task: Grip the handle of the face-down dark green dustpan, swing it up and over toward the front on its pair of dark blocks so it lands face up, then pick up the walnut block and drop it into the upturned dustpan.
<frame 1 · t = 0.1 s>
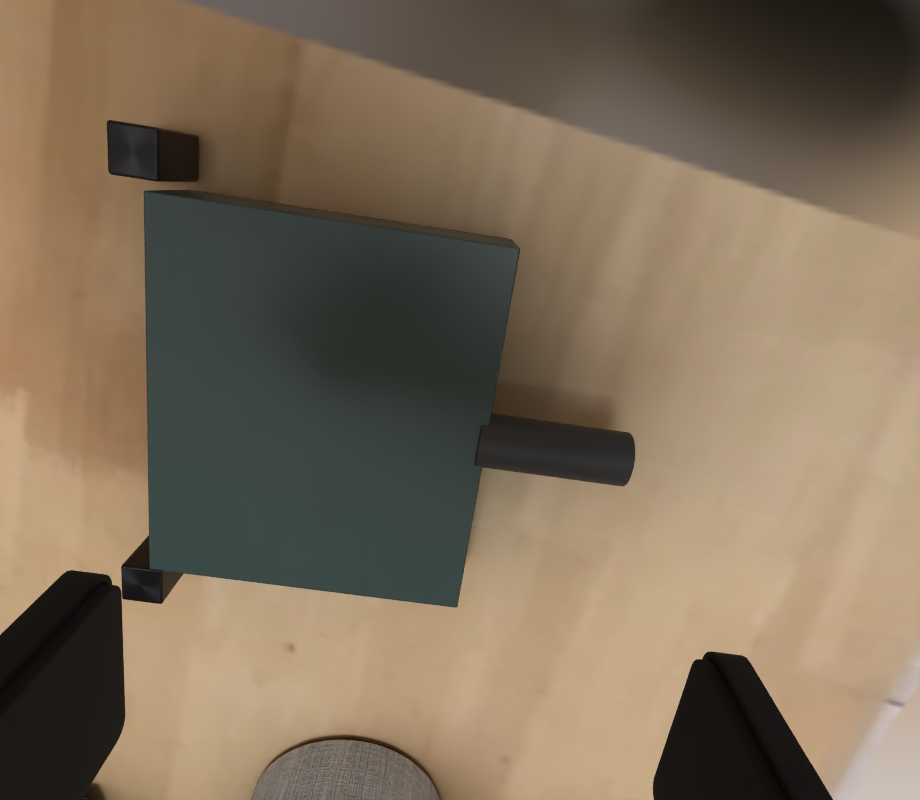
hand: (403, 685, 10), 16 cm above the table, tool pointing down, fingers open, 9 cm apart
dustpan: (396, 418, 24), point 2 cm above the table, hinge at -0.1°
pair of dark blocks: (176, 368, 25), on the table
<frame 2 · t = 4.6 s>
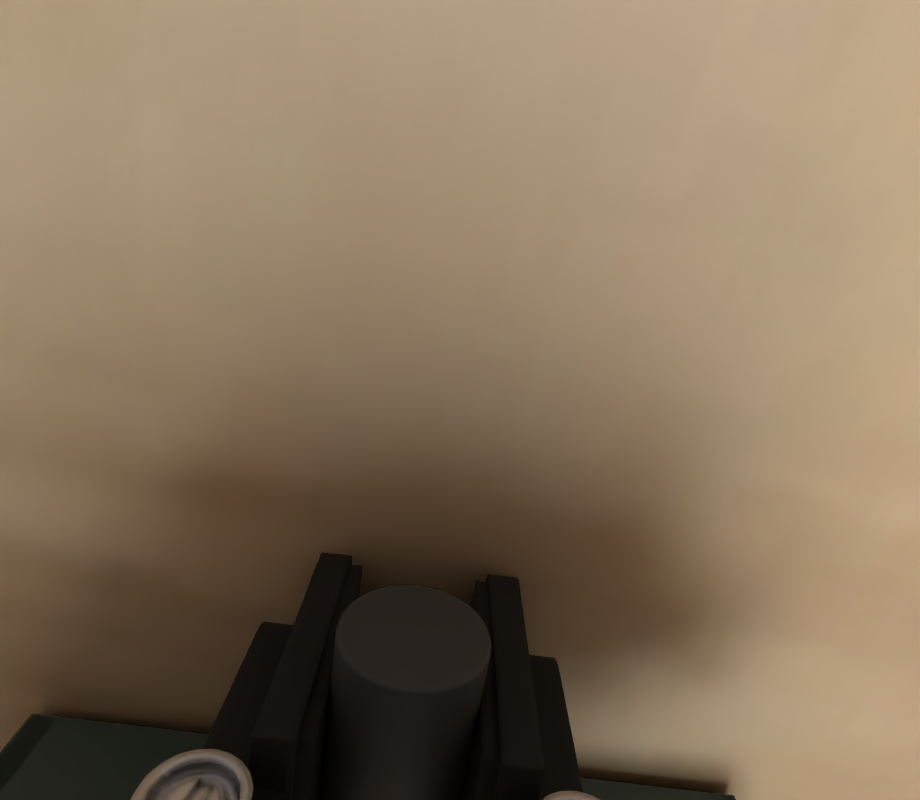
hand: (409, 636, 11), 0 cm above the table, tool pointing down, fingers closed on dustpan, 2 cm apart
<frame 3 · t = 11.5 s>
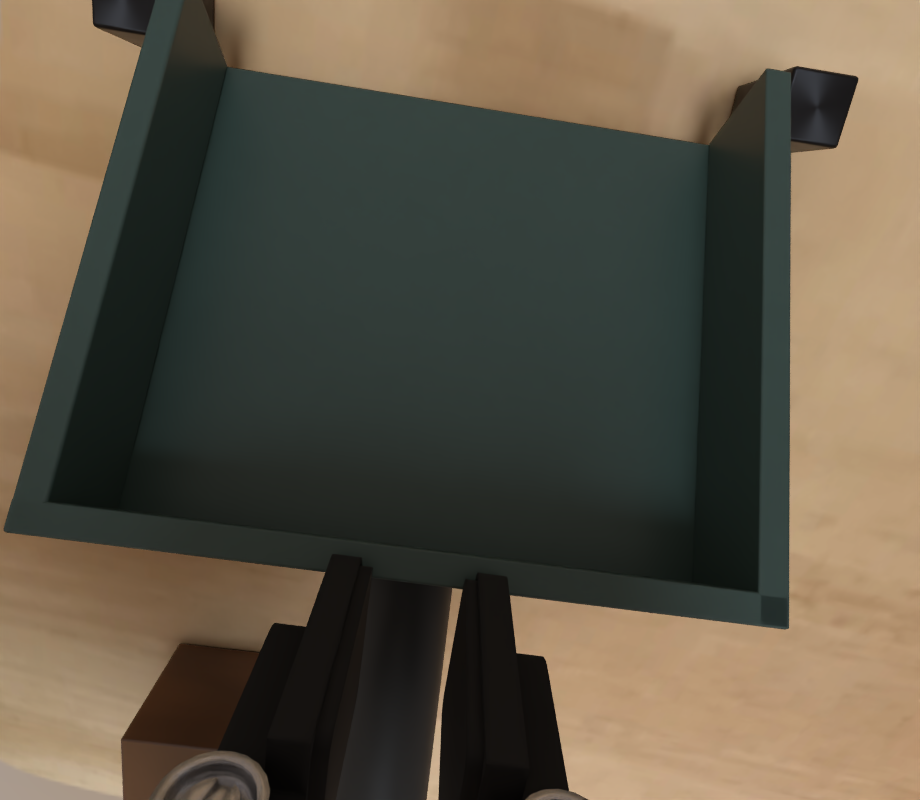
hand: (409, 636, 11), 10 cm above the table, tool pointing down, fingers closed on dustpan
dustpan: (429, 418, 14), point 7 cm above the table, hinge at 148.2°, touching gripper
block: (235, 694, 25), on the table
pair of dark blocks: (477, 74, 17), on the table
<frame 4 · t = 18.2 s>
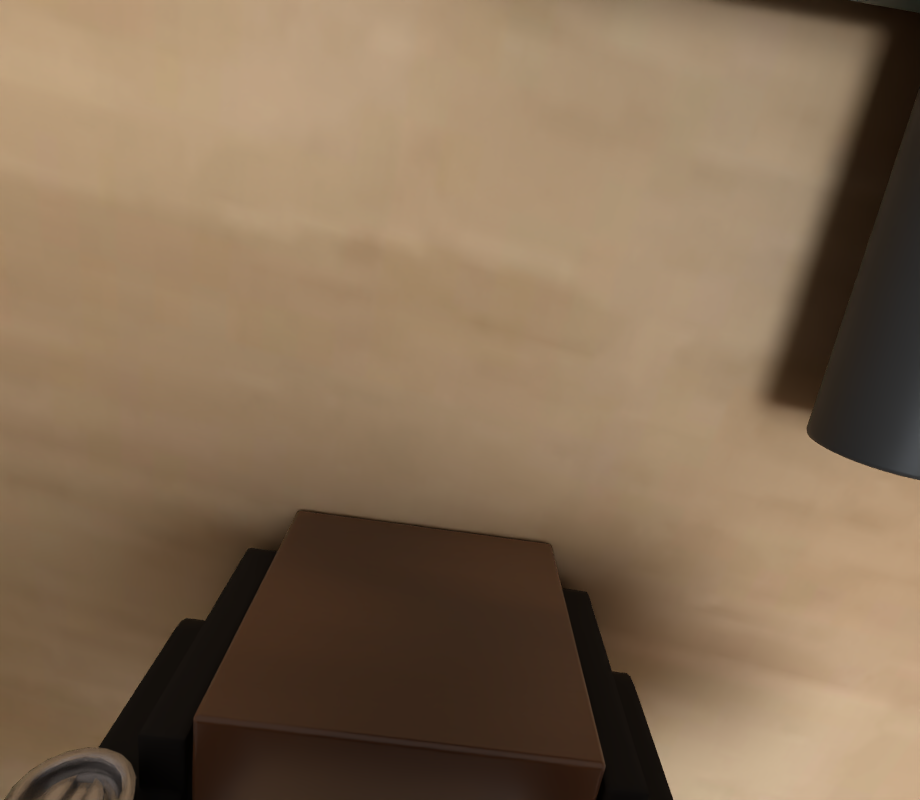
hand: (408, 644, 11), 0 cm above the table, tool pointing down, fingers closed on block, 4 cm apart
block: (410, 630, 11), on the table, touching gripper
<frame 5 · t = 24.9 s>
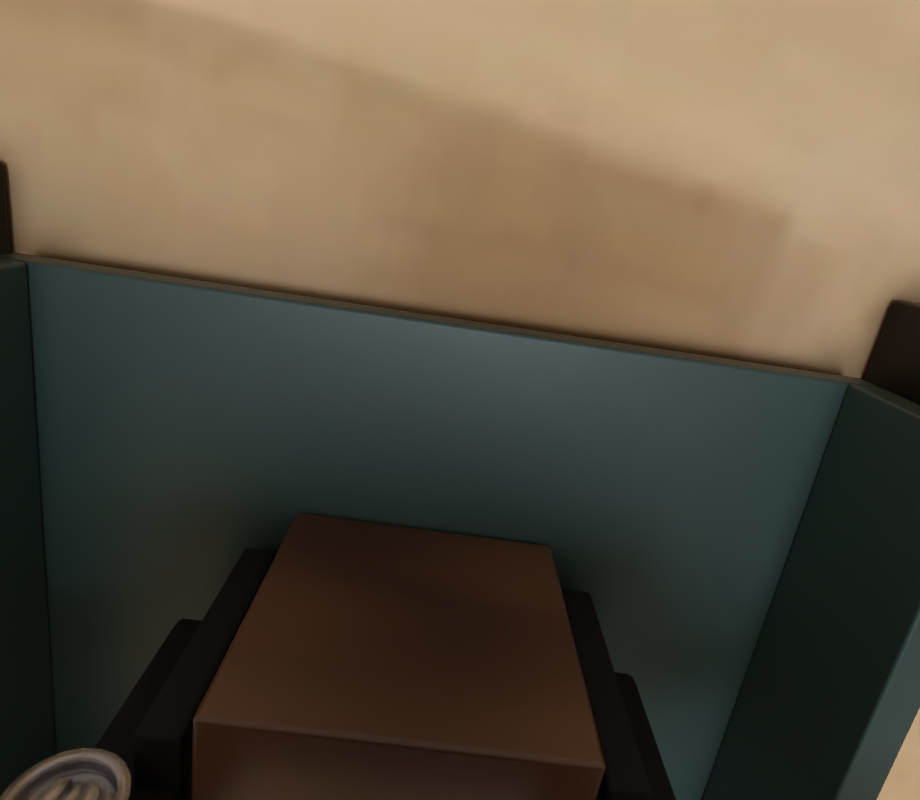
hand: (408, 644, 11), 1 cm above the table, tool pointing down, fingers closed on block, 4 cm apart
dustpan: (382, 796, 11), point 2 cm above the table, hinge at 178.9°, touching block
block: (409, 633, 11), point 1 cm above the table, touching dustpan, gripper
pair of dark blocks: (456, 281, 10), on the table
when the fingers open (1 cm above the table, at t = 24.9 s): block stays where it is, resting on dustpan.
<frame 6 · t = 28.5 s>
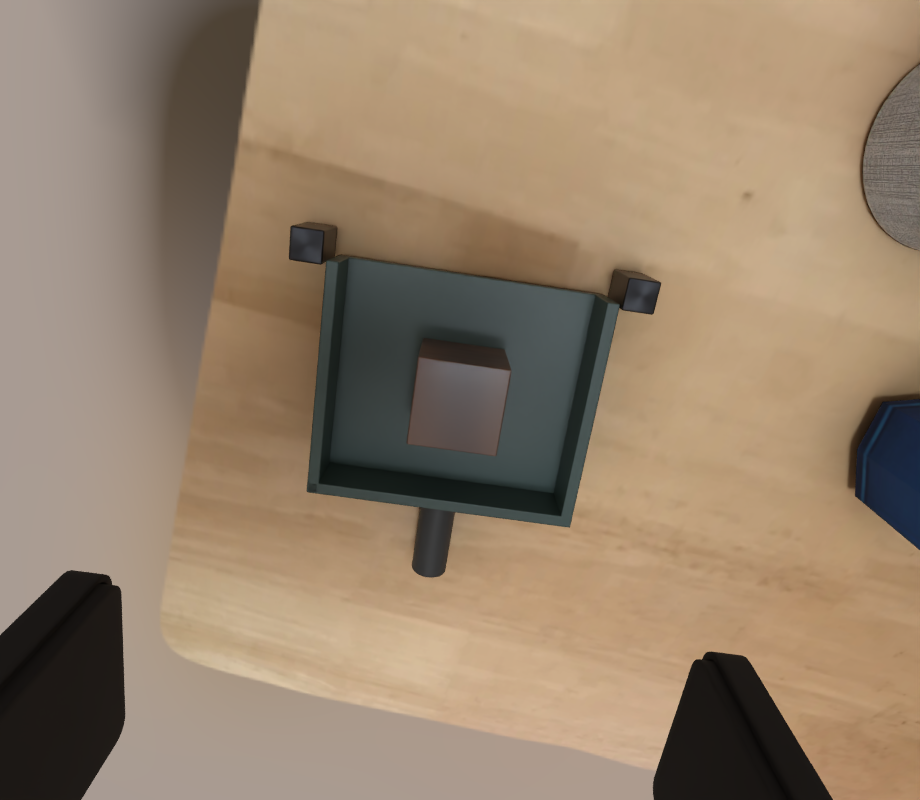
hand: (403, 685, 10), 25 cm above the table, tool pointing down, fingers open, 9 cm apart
dustpan: (449, 438, 34), point 2 cm above the table, hinge at 178.2°, touching block
block: (458, 382, 34), point 1 cm above the table, touching dustpan
pair of dark blocks: (474, 263, 33), on the table
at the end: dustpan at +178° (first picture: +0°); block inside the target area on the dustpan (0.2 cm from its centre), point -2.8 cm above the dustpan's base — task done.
